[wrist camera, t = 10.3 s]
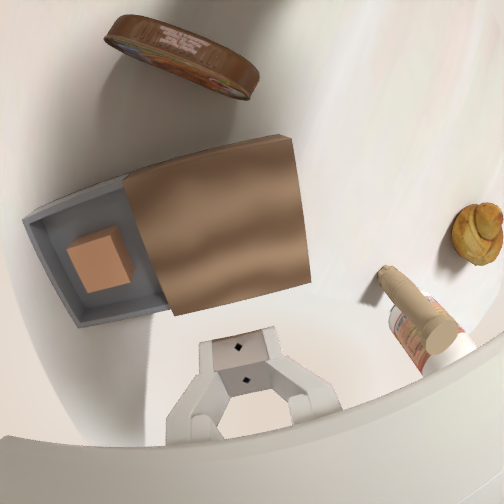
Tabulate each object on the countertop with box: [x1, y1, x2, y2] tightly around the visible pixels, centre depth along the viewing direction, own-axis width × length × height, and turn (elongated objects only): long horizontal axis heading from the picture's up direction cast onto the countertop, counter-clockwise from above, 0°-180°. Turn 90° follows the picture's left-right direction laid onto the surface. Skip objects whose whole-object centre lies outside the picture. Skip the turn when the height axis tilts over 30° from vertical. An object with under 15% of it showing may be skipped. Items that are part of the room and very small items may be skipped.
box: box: [22, 172, 171, 328], centre depth 31 cm, size 16×14×4 cm
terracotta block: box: [66, 225, 135, 293], centre depth 31 cm, size 6×6×3 cm
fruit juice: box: [389, 290, 477, 377], centre depth 34 cm, size 9×9×28 cm
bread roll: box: [452, 203, 503, 266], centre depth 37 cm, size 13×10×8 cm
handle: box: [378, 265, 459, 355], centre depth 34 cm, size 5×6×15 cm
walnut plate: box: [122, 134, 311, 316], centre depth 31 cm, size 16×16×5 cm
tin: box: [104, 15, 260, 101], centre depth 21 cm, size 15×3×8 cm, turn 61°
